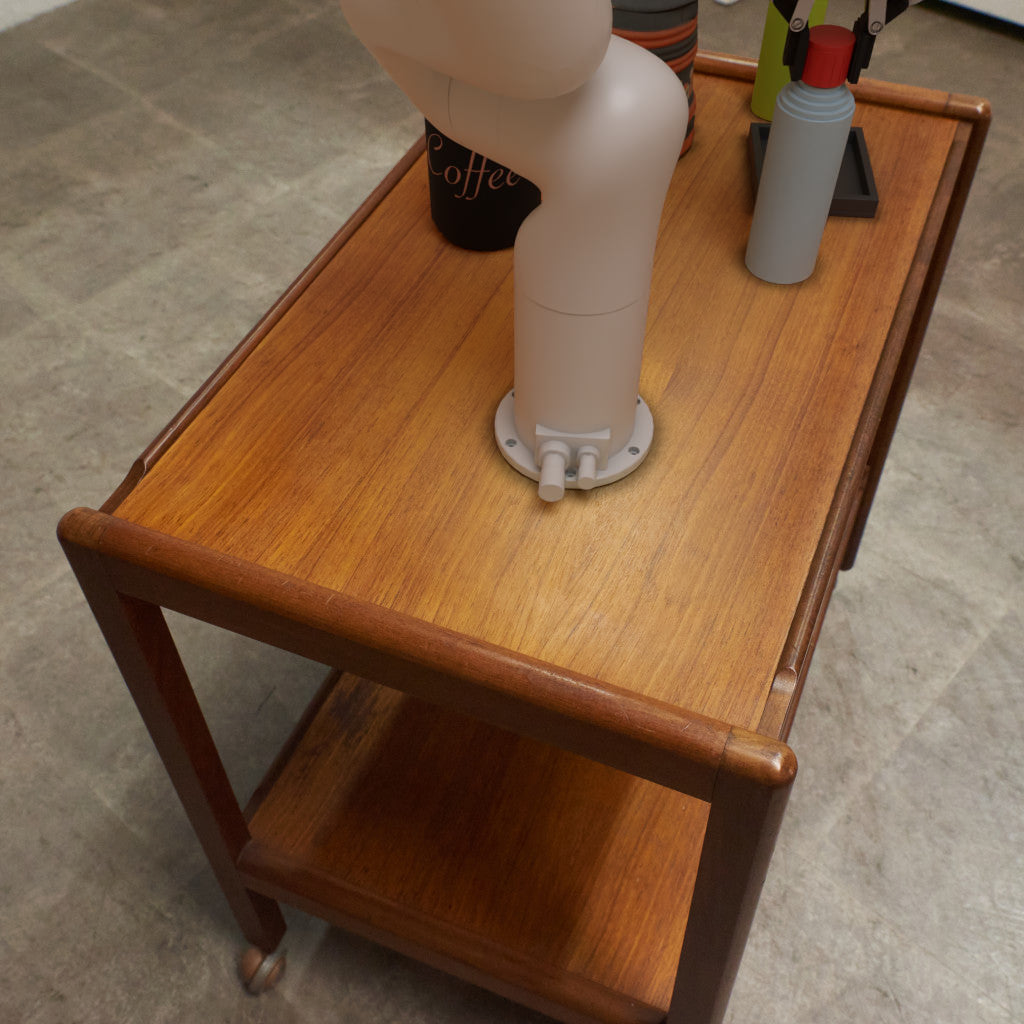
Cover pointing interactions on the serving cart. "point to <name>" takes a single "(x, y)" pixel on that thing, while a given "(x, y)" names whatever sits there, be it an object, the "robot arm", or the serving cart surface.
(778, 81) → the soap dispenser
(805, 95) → the bottle
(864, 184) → the tray
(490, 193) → the coffee jar
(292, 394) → the serving cart surface
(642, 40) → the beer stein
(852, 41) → the cap
